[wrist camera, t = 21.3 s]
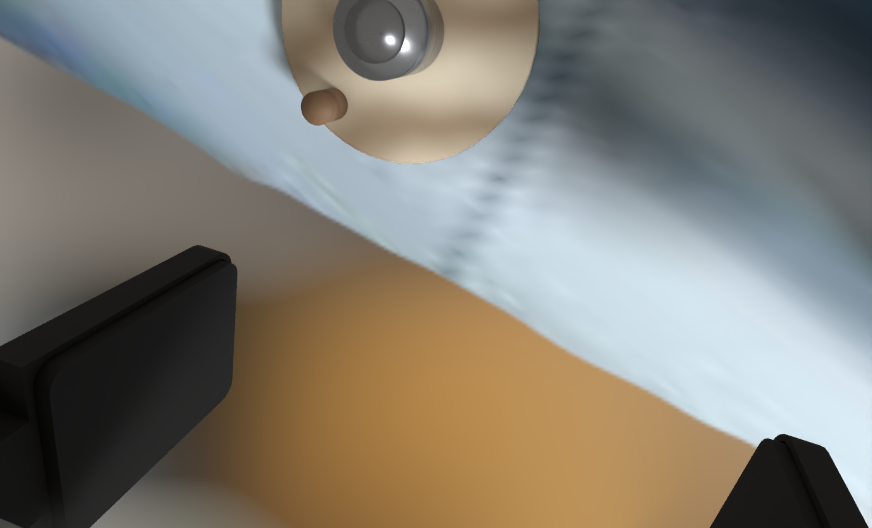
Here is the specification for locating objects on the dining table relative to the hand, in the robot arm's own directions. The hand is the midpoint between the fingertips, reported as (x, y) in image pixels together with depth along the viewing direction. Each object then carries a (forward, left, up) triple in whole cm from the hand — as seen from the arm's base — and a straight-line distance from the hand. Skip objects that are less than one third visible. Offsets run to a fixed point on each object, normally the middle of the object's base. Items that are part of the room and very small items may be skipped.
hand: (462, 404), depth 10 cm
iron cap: (+11, -4, -26) cm, 29 cm away
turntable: (+11, -4, -28) cm, 31 cm away
